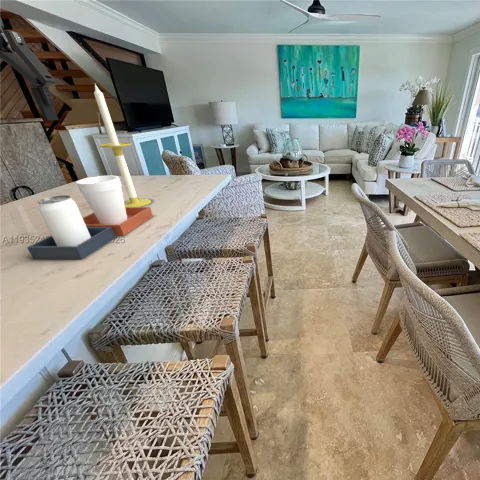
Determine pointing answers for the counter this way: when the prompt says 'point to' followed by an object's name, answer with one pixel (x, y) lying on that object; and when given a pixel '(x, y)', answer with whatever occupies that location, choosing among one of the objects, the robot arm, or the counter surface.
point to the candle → (118, 153)
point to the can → (63, 220)
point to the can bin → (52, 251)
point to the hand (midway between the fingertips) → (22, 120)
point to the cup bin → (133, 220)
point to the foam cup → (104, 198)
